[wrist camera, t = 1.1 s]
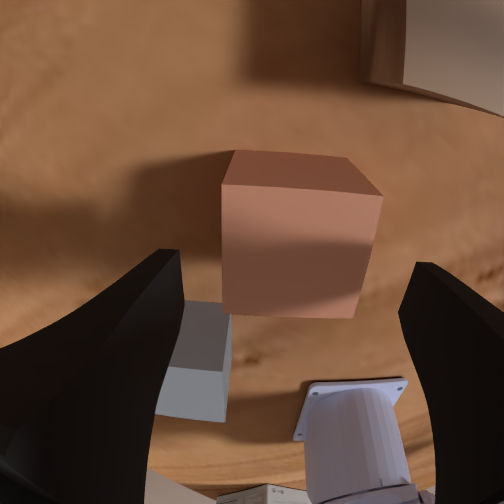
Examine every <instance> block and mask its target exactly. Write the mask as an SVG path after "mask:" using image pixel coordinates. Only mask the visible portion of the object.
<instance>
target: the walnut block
mask: <svg viewBox="0 0 504 504" xmlns="http://www.w3.org/2000/svg"><path fill="white" fill-rule="evenodd" d="M357 81H359V82H364V83H370V84H375V85H380V86H385V87H390V88H394V89H399V90H403V91H407V92H411V93H415V94H419V95H423V96H427V97H430V98H434V99H438V100H441V101H444V102H448V103H451V104H455V105H459V106H463V107H467V108H471V109H475V110H479V111H482V112H486V113H489V114H493V115H496V116H499V117H502V118H504V0H361V28H360V49H359V65H358V79H357Z"/></svg>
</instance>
